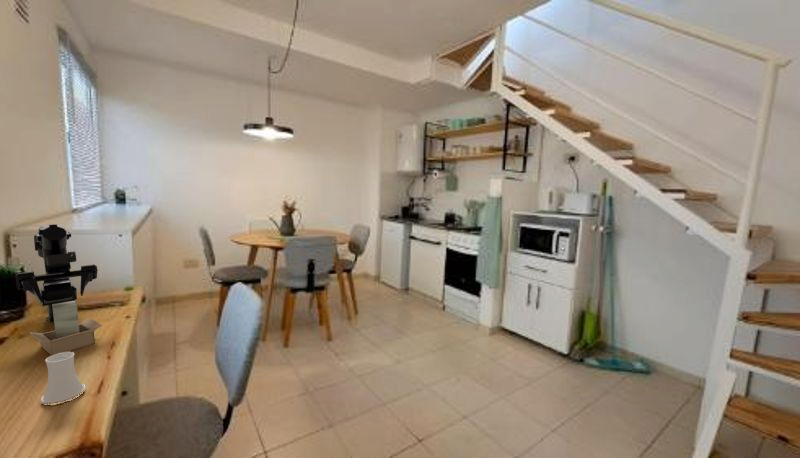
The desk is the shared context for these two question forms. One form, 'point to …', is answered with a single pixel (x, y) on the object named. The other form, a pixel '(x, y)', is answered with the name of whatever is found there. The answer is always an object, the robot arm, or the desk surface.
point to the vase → (61, 379)
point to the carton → (68, 338)
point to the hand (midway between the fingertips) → (62, 298)
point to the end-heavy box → (65, 319)
